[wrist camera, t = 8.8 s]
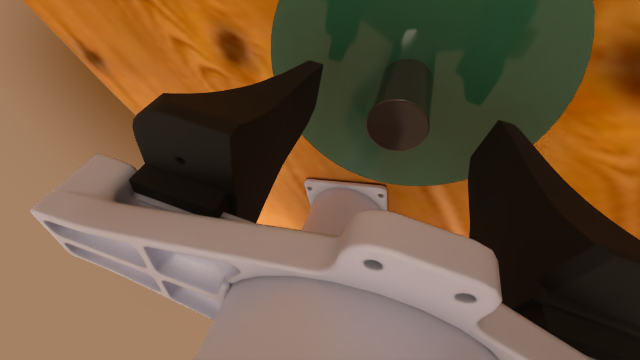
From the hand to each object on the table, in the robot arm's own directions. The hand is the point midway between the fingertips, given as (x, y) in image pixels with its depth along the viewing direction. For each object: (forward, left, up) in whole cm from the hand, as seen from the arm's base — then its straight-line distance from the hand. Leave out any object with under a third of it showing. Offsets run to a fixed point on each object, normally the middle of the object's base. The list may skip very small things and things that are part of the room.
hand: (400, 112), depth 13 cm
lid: (0, 0, -3) cm, 3 cm away
